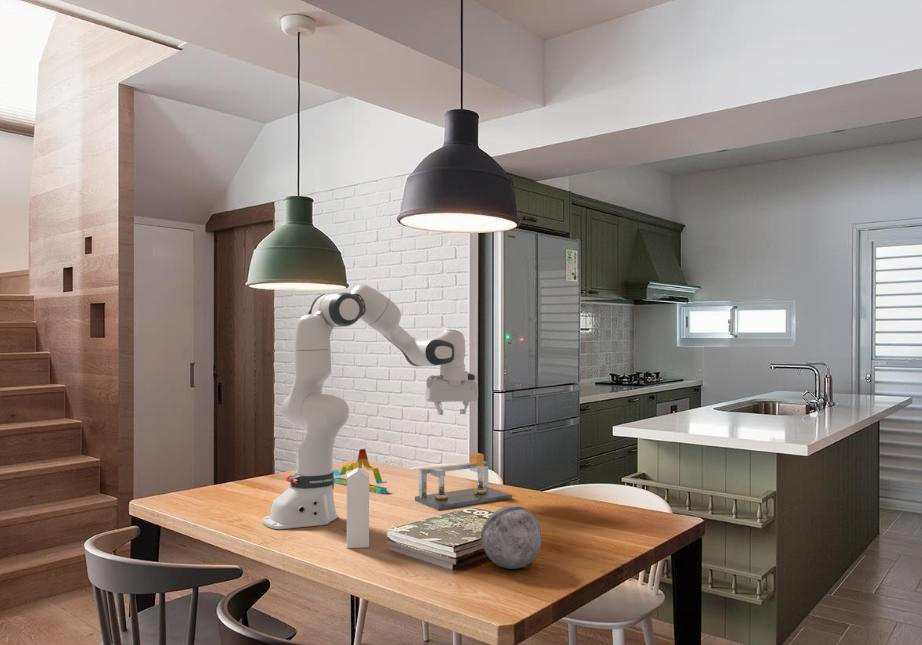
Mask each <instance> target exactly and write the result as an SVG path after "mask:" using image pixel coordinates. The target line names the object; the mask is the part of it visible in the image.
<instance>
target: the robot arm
mask: <svg viewBox="0 0 922 645" xmlns="http://www.w3.org/2000/svg"><path fill="white" fill-rule="evenodd" d="M401 316H402V312H401V309H400V308H399V307H398V306H397V304H395V302H393V300H391V299H390V298H388V296H386V295H385V294H383V293H382V292H380V291H379V290H377V289H375V288H373V287H371V286H369V285H367V284H364V283H362V284H361V283H360V284H358V285H355V286H354V287H353V288H352V289H351V290H350V291H349V292H337V291H336V292H335V291H334V292H329V293H323V294H320V295H319V296H318V297H316V298H315V299H314V300H313V301H312V303H311V305H310V309H309V311H308V313H307V314H305V315H302V316H301V317H299V318H298V320H297V322H296V325H295V333H294V378H293V384H292V386H291V390H290V392H289V394H288V395H287V397H285V399H284V400H283V402H282V405H281V411H280V412H281V416H282V419H284V421H286V422H287V423H288V424H291V425H293V426H295V427H297V428H306V434H305V437H304V440H303V441H302V442H301V443H300V444H299V445H298V447H297V449H296V473H295V474H294V475H291V474H286V476H285V478H284V479H285V481H287V482H289V483H290V486H288V488H287V489H286V490H284V491H283V492H282V493H281V494H280V495H278V496H277V497H276V498H275V499H274V500H273V501H272V504H271V507H270V513H269V514H270V515H267V516H264V517H263V519H262V523H263V525H265V526H266V527H268V528H270V529H275V530H287V529H294V528H295V529H297V528H306V527H315V526H316V527H317V526H324V525H325V526H326V525H329V524H330V523H331V522H332V521H335V520H336V519H337V518H338V513H337V510H336V509H337V508H336V505H335V500H334V498H335V497H334V489H335V488H334V487H335V483H334V477H335V476H334V475H335V474H334V472H332V471H333V459H334V458H333V457H334V456H333V455H334V445H335V441H336V438H337V435H338V433H339V432H340V430H341V429H342V428H343V427H344V426H345V425H346V424H347V422H348V420H349V416H350V409H349V405H348V403H347V402H346V400H345V399H343V398H341V397H339V396H336V395H334V394H327V393H322V390H323V385H324V383H325V381H326V380H327V379H328V378H329V377H330V376H331V373H332V357H331V356H332V355H331V354H332V353H331V352H332V351H331V335H332V332H333V329H334V328H342V327H346V328H347V327H350V326H352V325H353V324H356V323H357V322H358V321H359V320H362V321H363V322H364V323H365V324H367V325H368V326H369V327H371V328H372V329H374V330H375V331H377V332H379V334H381V336H383V337H384V338H385V339H386V340H388V341H389V342H390V343H391V344H392V345H394V346H395V347H396V348H397V349H399V351H400V352H401V353H402V354H403V356H404V358H405V360H406V361H407V363H409V365H411V366H414V367H424V366H425V367H437V366H438V367H439V368H440V369H439V370H440V371H439V375H438V374H437V375H432V374H431V375H430V376H429V377H427V379H426V388H425V396H424V398H425V401H427V402H429V403H434V406H435V409H436V414H437V415H438V416H443V415H444V409H441V405H442V404H441V403H444V402H445V403H447V402H450V403H451V402H457V403H458V402H462V407H461V408H460V409H459V414H460V415H466V413H467V409H468V407H469V405H470V402H476V401H477V400H478V398H479V386H478V383H477V379H478V376H477V375H476V374H474V373H472V372H469V371H466V365H465V357H466V340H465V336H464V333H462V332H461V331H458V330H453V329H445V330H442V332H441V333H440V334H438V335H436V336H434V337H431V338H417V337H413V336H412V335H410V333H408V332H407V331H406V330H405V329H404V328H403V327H402V326H400V325H399V324H400V321H401Z"/></svg>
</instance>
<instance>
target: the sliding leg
mask: <svg viewBox="0 0 922 645" xmlns="http://www.w3.org/2000/svg"><path fill="white" fill-rule="evenodd" d="M484 456H485V455H484V454H483V453H479V452H475V453H473V452H472V453H470V463H471V465H470V469H469V471H471V472H475V473H477V488H483V471H484V461H485V459H484V458H485V457H484Z"/></svg>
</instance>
